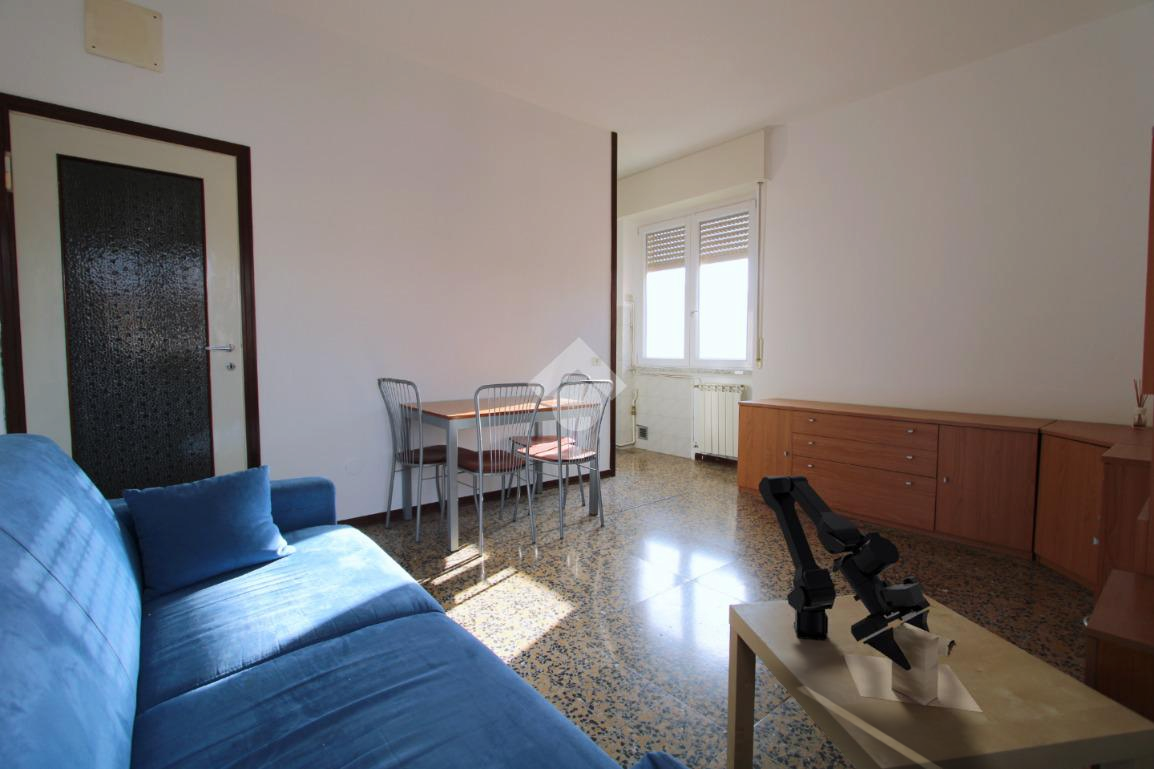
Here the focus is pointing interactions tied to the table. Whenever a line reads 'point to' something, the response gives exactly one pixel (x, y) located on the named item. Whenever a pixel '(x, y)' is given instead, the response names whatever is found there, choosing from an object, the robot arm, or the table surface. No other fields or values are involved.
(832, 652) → the table surface
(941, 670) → the white flat sheet
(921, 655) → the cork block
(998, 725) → the table surface
